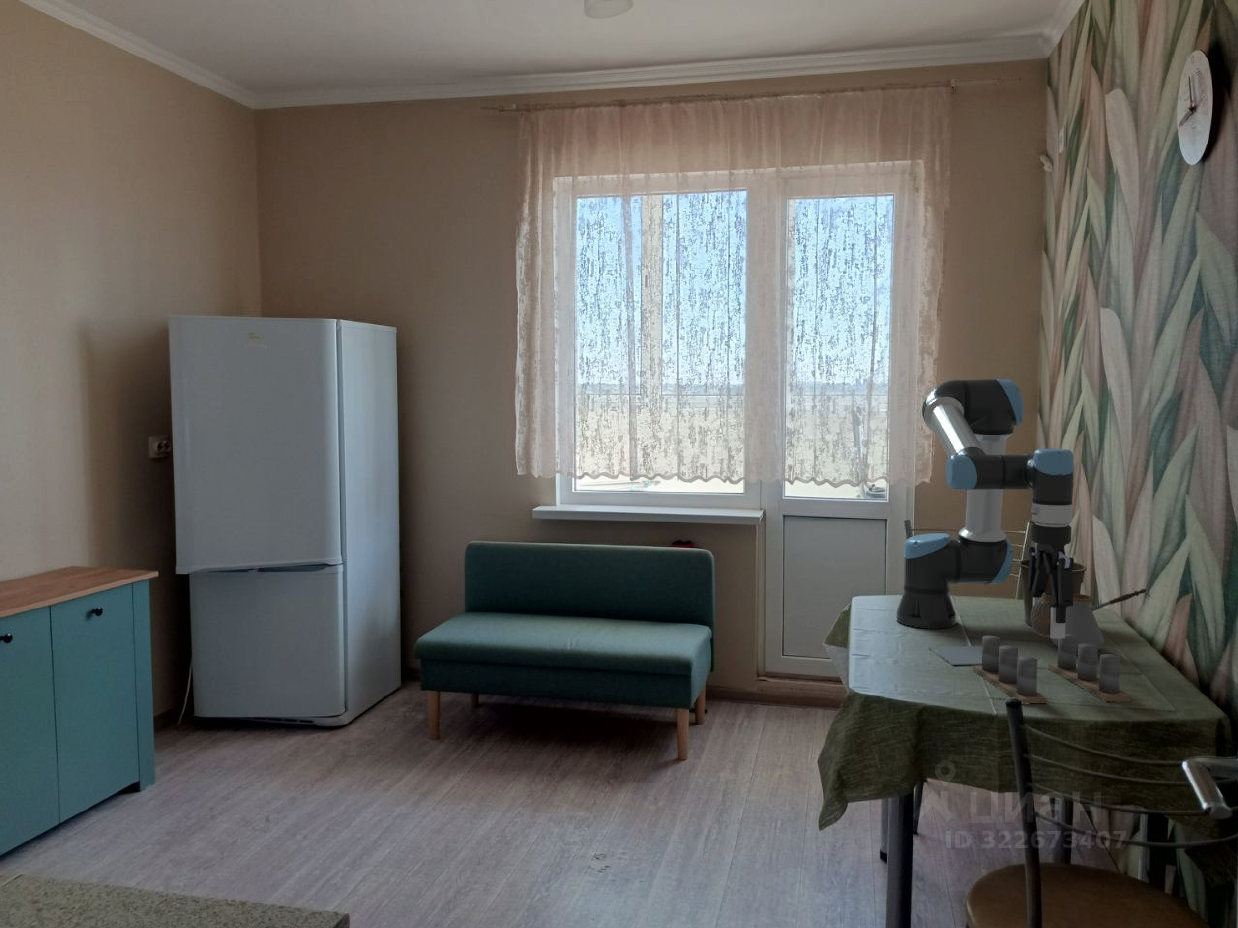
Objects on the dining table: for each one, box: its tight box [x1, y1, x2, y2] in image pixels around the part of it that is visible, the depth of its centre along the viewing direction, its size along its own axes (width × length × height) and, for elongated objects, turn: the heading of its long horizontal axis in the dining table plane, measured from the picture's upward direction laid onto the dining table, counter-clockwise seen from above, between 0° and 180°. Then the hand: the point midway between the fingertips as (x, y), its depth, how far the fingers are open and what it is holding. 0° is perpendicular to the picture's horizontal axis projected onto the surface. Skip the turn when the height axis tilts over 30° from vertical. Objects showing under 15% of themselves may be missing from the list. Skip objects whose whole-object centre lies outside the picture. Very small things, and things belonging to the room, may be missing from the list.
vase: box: [1030, 592, 1067, 638], centre depth 194 cm, size 7×7×9 cm
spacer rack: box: [972, 634, 1131, 705], centre depth 194 cm, size 22×22×8 cm
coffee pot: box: [1050, 588, 1151, 653], centre depth 219 cm, size 21×12×15 cm, turn 81°
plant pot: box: [1018, 558, 1088, 627], centre depth 243 cm, size 16×16×16 cm
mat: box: [928, 645, 982, 666], centre depth 216 cm, size 14×14×1 cm
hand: (1048, 632), depth 194 cm, fingers closed on vase, 7 cm apart
